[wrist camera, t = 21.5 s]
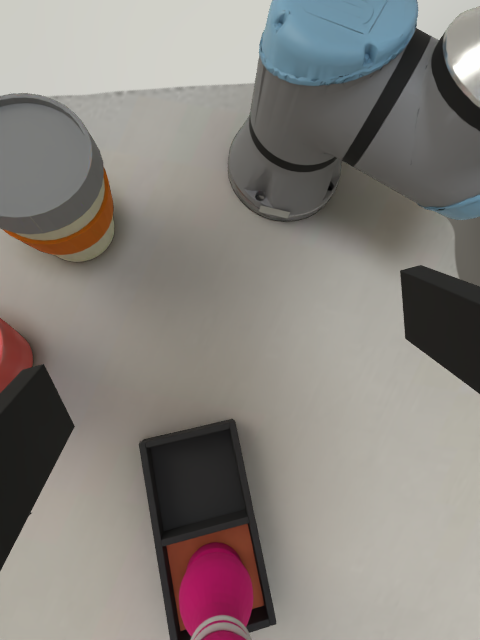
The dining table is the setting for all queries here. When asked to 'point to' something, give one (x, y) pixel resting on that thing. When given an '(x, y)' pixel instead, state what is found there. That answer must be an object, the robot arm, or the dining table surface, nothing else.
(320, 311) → the dining table surface
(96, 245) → the reusable coffee cup
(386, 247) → the dining table surface
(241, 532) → the tray
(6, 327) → the flower pot
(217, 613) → the pepper mill
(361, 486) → the dining table surface
